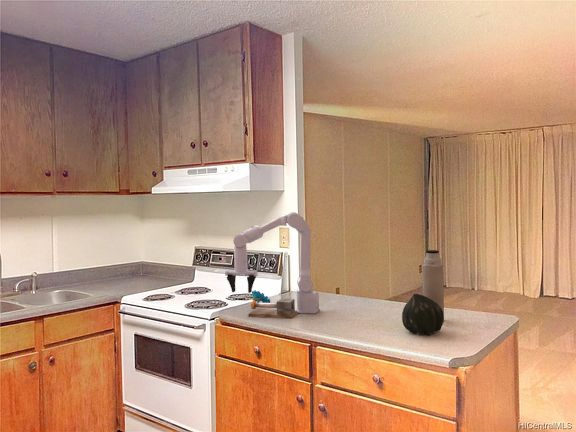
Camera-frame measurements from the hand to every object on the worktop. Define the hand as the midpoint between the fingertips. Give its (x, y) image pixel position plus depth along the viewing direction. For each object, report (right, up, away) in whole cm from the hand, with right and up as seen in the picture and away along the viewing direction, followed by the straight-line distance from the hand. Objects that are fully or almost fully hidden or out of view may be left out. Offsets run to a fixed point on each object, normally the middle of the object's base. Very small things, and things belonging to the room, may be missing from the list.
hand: (241, 292), depth 207 cm
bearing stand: (+14, -9, -4) cm, 17 cm away
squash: (+70, -9, -36) cm, 79 cm away
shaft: (+11, -7, -3) cm, 13 cm away
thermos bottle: (+78, -8, -19) cm, 81 cm away
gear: (+7, -9, +16) cm, 20 cm away
